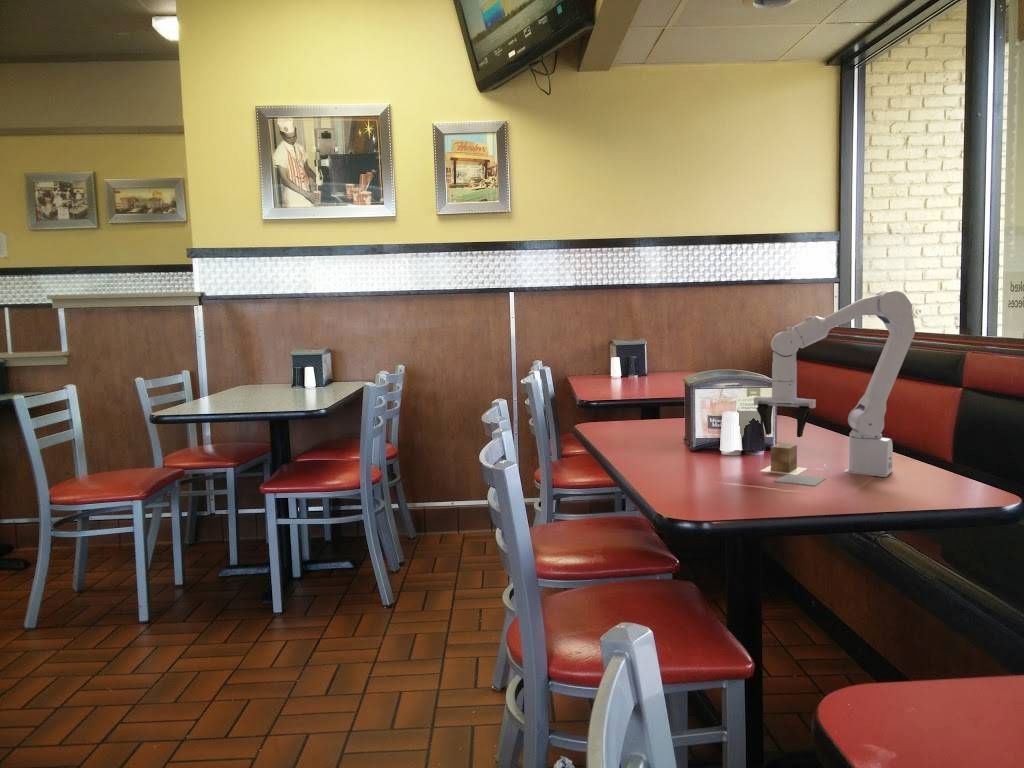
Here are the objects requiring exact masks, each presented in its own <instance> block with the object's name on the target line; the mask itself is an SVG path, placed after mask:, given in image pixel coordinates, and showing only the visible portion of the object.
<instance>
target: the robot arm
mask: <svg viewBox="0 0 1024 768" xmlns="http://www.w3.org/2000/svg"><path fill="white" fill-rule="evenodd" d="M862 316H876V317H877V318H878V319H879V320H880V321H881V322H882V323H883V325H884V326H885V328H886V329H887V331H888V333H889V335H888V337H887V339H886V342H885V344H884V346H883V349H882V352H881V354H880V356H879V358H878V361H877V364H876V366H875V368H874V371H873V373H872V376H871V378H870V379H869V382H868V385H867V387H866V390H865V392H864V394H863V395H862V397H860V398H859V400H858V402H857V404H856V405H855V407H854V408H853V409H852V410H851V411H850V412H849V414H848V417H847V423H848V426H850V428H851V431H850V432H849V433H848V434H849V437H848V439H849V440H848V454H849V455H848V468H846V469H845V470H844V471H843V473H847V474H857V475H858V474H859V475H867V476H873V477H880V478H881V477H882V478H887V477H888V476H889V475H890V474H891V473H893V472H894V470H893V453H894V452H893V451H894V449H893V439H892V438H889V437H883V434H882V432H883V430H884V429H885V415H886V412H887V401H888V398H889V396H890V394H891V391H892V390H893V387H894V384H895V382H896V379H897V377H898V375H899V372H900V370H901V368H902V365H903V364H904V363H903V362H904V360H905V358H906V357H907V356H906V355H907V353H908V351H909V349H910V346H911V344H912V341H913V339H914V337H915V334H916V325H915V321H914V315H913V304H912V303H911V301H910V299H909V298H908V296H907V295H906V294H905V293H903V292H902V291H899V290H890V291H885V290H884V291H880V292H877V293H876V294H872V295H869V296H866V297H864V298H861V299H858V300H856V301H853V302H852V303H850V304H849V305H846V306H844V307H842V308H841V309H839V310H837V311H835V312H833V313H830V314H829V315H826V316H825V317H820V316H817V315H814V316H811V315H810V316H809V315H808V316H807V317H805V318H804V321H802V322H800V323H798V324H796V325H794V326H791V325H790V326H788V327H786V330H787V331H780V332H777V333H776V334H775V335H774V336H773V337H772V338H771V342H770V347H771V350H772V351H773V352H772V362H771V363H772V364H771V366H772V367H771V382H772V383H771V396H755V397H753V406H757V407H756V409H757V411H758V413H759V415H760V418H761V421H762V425H763V428H764V434H765V435H767V436H769V435H771V434H772V429H773V428H772V415H773V407H788V408H789V407H790V408H792V407H794V408H796V409H795V413H796V423H797V424H796V438H801V437H803V435H804V430H805V427H806V423H807V422H808V421H807V420H808V418H809V416H810V415H811V412H812V411H813V409H815V408H816V407H817V405H816V403H817V400H816V399H811V398H801V397H800V398H799V397H798V395H797V389H798V388H797V387H798V386H797V384H798V381H797V379H798V377H797V376H798V375H797V374H798V366H797V365H798V364H797V352H798V351H799V348H800V349H804V348H806V347H808V346H810V345H812V344H815V343H816V342H819V341H821V340H823V339H825V338H827V337H828V335H829V332H830V331H831V330H832V329H833V328H837V327H838V326H840V325H844V324H845V323H848V322H850V321H853V320H855V319H857V318H859V317H862Z"/></svg>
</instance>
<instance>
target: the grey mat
mask: <svg viewBox="0 0 1024 768" xmlns="http://www.w3.org/2000/svg"><path fill="white" fill-rule="evenodd" d="M825 480H827V478H826V477H821V476H820V477H819V476H811V475H802V474H801V475H800V474H798V475H792V474H783V476H781V477H779V478H777V479H776V480H774V482H775V483H782V484H788V485H798V486H799V485H800V486H808V487H816V486H818V485H819V484H820V483H823V481H824V482H825Z"/></svg>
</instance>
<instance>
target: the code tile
mask: <svg viewBox="0 0 1024 768" xmlns="http://www.w3.org/2000/svg"><path fill="white" fill-rule="evenodd" d="M806 470H808V467H800V466H799V467H798V466H797V469H795V470H793V471H791V472H790V473H787V472H777V471H771V464H770V465H769V466H766V467H765V468H763V469H761V470H760V472H764V473H773V474H783V475H786V474H792V475H800V474H801V473H803V472H804V471H806Z"/></svg>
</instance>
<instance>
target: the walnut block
mask: <svg viewBox="0 0 1024 768" xmlns="http://www.w3.org/2000/svg"><path fill="white" fill-rule="evenodd" d="M770 465H771V471H777V472H787V473H790V472H791V471H793V470H795V469H797V467H798V444H794V443H780V442H779V443H777V444H773V445H772V446H770Z"/></svg>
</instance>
